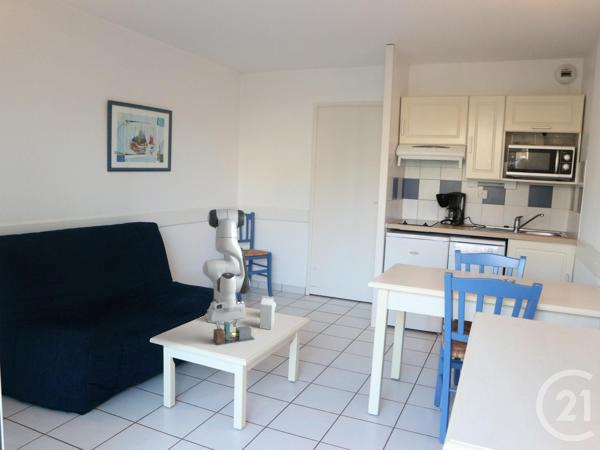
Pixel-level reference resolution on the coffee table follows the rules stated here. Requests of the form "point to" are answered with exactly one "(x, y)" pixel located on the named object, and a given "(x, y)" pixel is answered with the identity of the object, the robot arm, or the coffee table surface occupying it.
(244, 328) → the grey base plate
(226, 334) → the rod
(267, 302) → the milk carton
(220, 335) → the socket
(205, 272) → the robot arm
